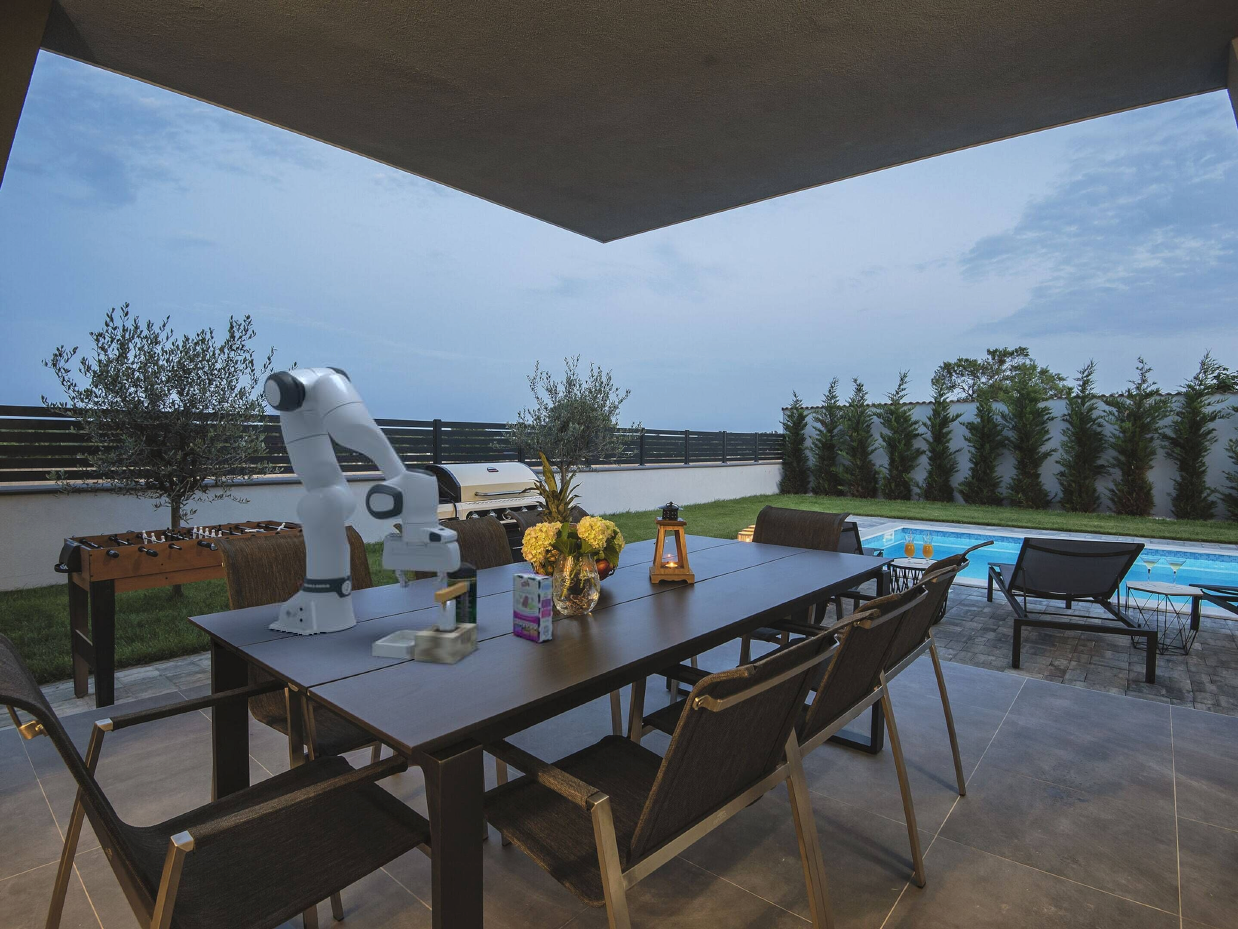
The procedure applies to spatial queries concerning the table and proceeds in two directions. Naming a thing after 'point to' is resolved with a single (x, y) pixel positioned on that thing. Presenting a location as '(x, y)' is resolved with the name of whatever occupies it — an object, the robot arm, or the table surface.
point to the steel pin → (447, 616)
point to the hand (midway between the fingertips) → (421, 588)
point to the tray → (396, 645)
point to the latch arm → (452, 591)
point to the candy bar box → (533, 607)
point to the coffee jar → (468, 575)
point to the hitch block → (447, 640)
